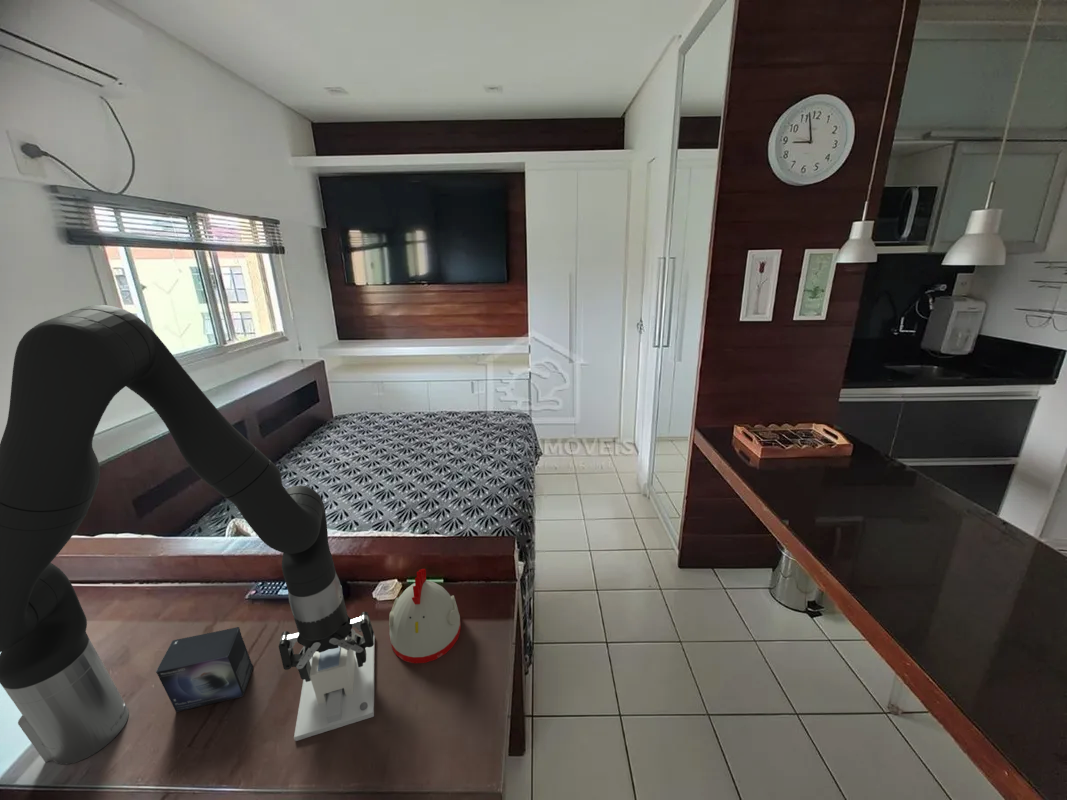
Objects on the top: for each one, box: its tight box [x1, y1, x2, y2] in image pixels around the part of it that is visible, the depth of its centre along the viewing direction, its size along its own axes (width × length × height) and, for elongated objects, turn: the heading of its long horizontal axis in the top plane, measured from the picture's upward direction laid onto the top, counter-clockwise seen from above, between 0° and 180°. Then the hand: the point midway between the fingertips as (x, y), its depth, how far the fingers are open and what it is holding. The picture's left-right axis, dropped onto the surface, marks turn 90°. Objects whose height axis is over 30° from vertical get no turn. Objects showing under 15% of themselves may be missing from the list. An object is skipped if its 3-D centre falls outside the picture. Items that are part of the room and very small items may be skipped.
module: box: [310, 637, 355, 704], centre depth 77 cm, size 6×7×7 cm
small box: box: [155, 626, 254, 713], centre depth 76 cm, size 11×6×10 cm, turn 105°
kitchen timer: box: [388, 568, 462, 664], centre depth 86 cm, size 14×14×15 cm
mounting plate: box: [293, 635, 376, 742], centre depth 79 cm, size 12×16×3 cm
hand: (335, 669), depth 78 cm, fingers open, 8 cm apart
